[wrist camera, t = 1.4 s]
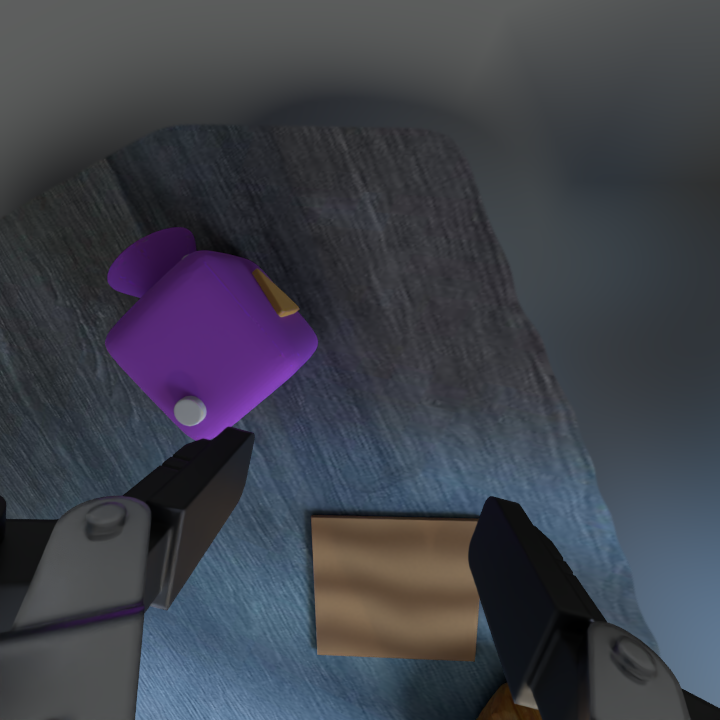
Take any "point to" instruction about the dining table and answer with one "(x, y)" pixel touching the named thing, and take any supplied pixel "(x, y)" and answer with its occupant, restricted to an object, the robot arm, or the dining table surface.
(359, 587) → the square metal plate
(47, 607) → the robot arm
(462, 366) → the dining table surface
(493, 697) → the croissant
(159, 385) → the toy camera
